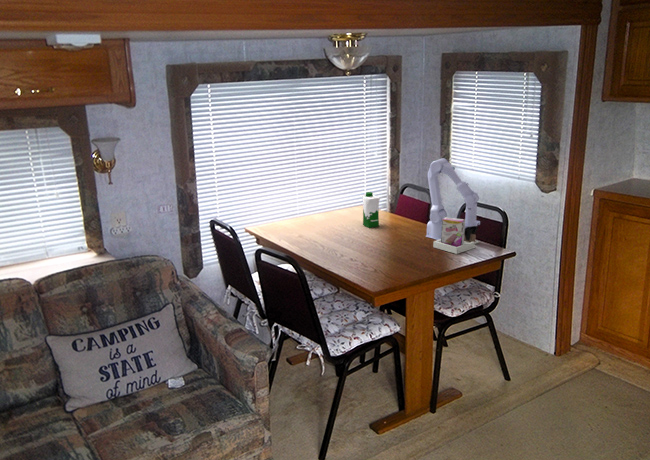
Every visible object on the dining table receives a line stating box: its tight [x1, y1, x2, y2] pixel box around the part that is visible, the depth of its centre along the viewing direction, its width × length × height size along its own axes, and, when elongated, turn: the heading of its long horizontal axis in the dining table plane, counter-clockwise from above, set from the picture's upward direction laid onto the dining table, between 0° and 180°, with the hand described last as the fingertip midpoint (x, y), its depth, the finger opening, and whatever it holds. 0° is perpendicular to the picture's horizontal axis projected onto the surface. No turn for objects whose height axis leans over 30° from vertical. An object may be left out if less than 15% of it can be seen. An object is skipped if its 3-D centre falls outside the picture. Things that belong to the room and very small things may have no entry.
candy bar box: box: [441, 216, 465, 247], centre depth 314 cm, size 11×5×16 cm, turn 63°
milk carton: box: [362, 191, 381, 229], centre depth 358 cm, size 9×9×20 cm
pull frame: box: [432, 233, 480, 255], centre depth 320 cm, size 15×25×5 cm, turn 130°
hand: (469, 239), depth 326 cm, fingers open, 3 cm apart
